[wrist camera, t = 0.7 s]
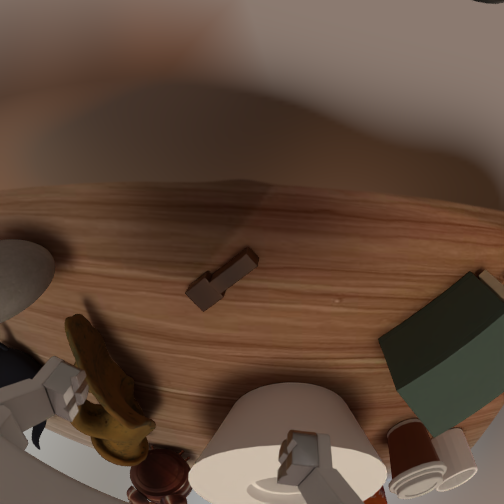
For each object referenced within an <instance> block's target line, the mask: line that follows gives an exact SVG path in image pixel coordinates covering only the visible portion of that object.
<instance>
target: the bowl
mask: <svg viewBox="0 0 504 504" xmlns="http://www.w3.org/2000/svg"><path fill="white" fill-rule="evenodd" d="M290 430H299V431H307V432H315V433H323V434H329V436H330V442H331V454H332V466H333V469H337V470H338V472H339V473H340V474H341V475H342V477H343V478H344V479H345V480H346V482H347V483H348V484H349V485H350V487H351V488H352V489H353V490H354V491H355V493H356V494H357V495H358V496H359V497H360V499H361V500H362V501H364V500H366V499H368V498H369V497H371V496H372V495H374V494H375V493H376V492H377V491H378V490H379V489H380V488H381V487H382V486H383V484H384V483H385V481H386V478H387V470H386V466H385V465H384V463H383V462H382V460H381V458H380V457H379V455H378V454H377V452H376V450H375V449H374V447H373V446H372V444H371V443H370V441H369V439H368V438H367V436H366V435H365V433H364V431H363V430H362V428H361V427H360V425H359V423H358V422H357V420H356V419H355V417H354V415H353V414H352V412H351V411H350V409H349V407H348V406H347V404H346V403H345V402H344V400H343V399H342V398H341V397H340V396H339V395H337V394H336V393H335V392H333V391H331V390H329V389H327V388H324V387H321V386H317V385H314V384H307V383H295V382H286V383H277V384H271V385H267V386H263V387H260V388H257V389H255V390H252V391H250V392H248V393H247V394H245V395H243V396H242V397H241V398H240V399H239V400H238V401H236V402H235V404H234V406H233V407H232V409H231V410H230V412H229V413H228V415H227V416H226V418H225V419H224V421H223V422H222V424H221V425H220V427H219V429H218V430H217V432H216V433H215V435H214V436H213V438H212V439H211V440H210V442H209V443H208V445H207V446H206V448H205V449H204V451H203V452H202V454H201V455H200V457H199V458H198V459H197V461H196V462H195V464H194V465H193V467H192V468H191V470H190V471H189V475H188V481H189V483H190V485H191V487H192V488H193V489H194V491H195V492H196V493H197V494H198V495H200V496H201V497H202V498H204V499H205V500H207V501H209V502H210V503H212V504H307V503H306V501H305V499H304V498H303V496H302V494H301V492H300V491H299V489H298V486H291V485H284V484H277V473H278V469H279V467H280V466H281V464H280V462H279V461H278V457H279V450H280V447H281V444H282V442H283V441H284V440H285V439H287V434H288V432H289V431H290Z"/></svg>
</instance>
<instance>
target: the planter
mask: <svg viewBox="0 0 504 504" xmlns="http://www.w3.org/2000/svg"><path fill="white" fill-rule="evenodd" d="M54 272H55V262H54V259H53V256H52V255H51V253H50V252H49V251H48V250H47V249H45V248H44V247H42V246H41V245H38V244H36V243H33V242H30V241H25V240H16V239H7V240H0V323H2V322H4V321H6V320H8V319H10V318H12V317H13V316H15V315H17V314H19V313H20V312H22V311H23V310H25V309H26V308H27V307H29V306H30V305H31V304H32V303H34V302H35V301H36V300H37V299H38V298H39V297H40V296H41V295H42V294H43V292H44V291H45V290H46V289H47V287H48V286H49V284H50V283H51V281H52V278H53V276H54Z"/></svg>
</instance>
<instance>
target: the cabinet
mask: <svg viewBox="0 0 504 504" xmlns="http://www.w3.org/2000/svg"><path fill="white" fill-rule="evenodd" d="M378 340H379V343H380V346H381V348H382V351H383V354H384V356H385V359H386V362H387V365H388V367H389V370H390V373H391V376H392V378H393V381H394V384H395V387H396V390H397V392H398V393H399V394H400V396H401V397H402V398H403V399H404V401H405V402H406V403H407V404H408V406H409V407H410V408H411V409H412V411H413V412H414V413H415V414H416V416H417V417H418V418H419V419H420V421H421V422H422V423H423V424H424V426H425V427H426V428H427V430H428V431H429V432H430V433H431V435H432V436H433V437H434V438H435V437H437V436H439V435H440V434H442V433H444V432H445V431H447V430H449V429H450V428H452V427H454V426H455V425H457V424H459V423H460V422H462V421H463V420H465V419H466V418H468V417H469V416H471V415H472V414H474V413H475V412H477V411H478V410H480V409H481V408H482V407H484V406H485V405H487V404H488V403H489V402H491V401H492V400H494V399H495V398H496V397H498V396H499V395H500V394H501V393H503V392H504V303H503V302H502V301H501V300H500V299H499V298H498V297H497V296H496V295H495V294H494V293H493V292H492V291H490V290H489V289H488V288H487V287H486V286H485V285H484V284H483V283H482V282H481V281H480V280H479V279H478V278H477V277H476V276H475V275H474V274H472V273H471V272H469V273H467V274H466V275H465V276H464V277H463V278H461V279H460V280H459V281H458V282H456V283H455V284H454V285H453V286H451V287H450V288H449V289H448V290H446V291H445V292H444V293H443V294H441V295H440V296H439V297H437V298H436V299H435V300H433V301H432V302H431V303H429V304H428V305H427V306H425V307H424V308H423V309H421V310H420V311H418V312H417V313H416V314H414V315H413V316H411V317H410V318H409V319H407V320H406V321H404V322H403V323H401V324H400V325H398V326H397V327H396V328H394V329H393V330H391V331H390V332H388V333H387V334H385V335H384V336H382V337H380V338H379V339H378Z"/></svg>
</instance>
